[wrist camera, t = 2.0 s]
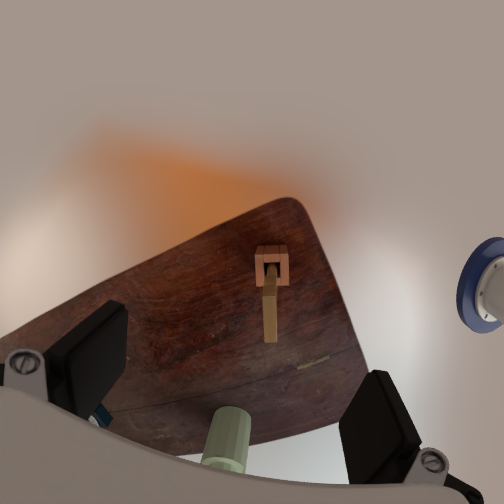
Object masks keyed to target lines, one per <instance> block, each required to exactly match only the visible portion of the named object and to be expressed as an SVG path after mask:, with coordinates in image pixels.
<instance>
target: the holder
mask: <svg viewBox="0 0 504 504" xmlns="http://www.w3.org/2000/svg"><path fill="white" fill-rule="evenodd" d="M268 262H280V266H277V286H280V285H281V286H282V285H289V259H288V249H287V245H265V246H257V249H256V252H255V271H256V286H264V277H265V275H267V269H268V267H266V263H268Z"/></svg>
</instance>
